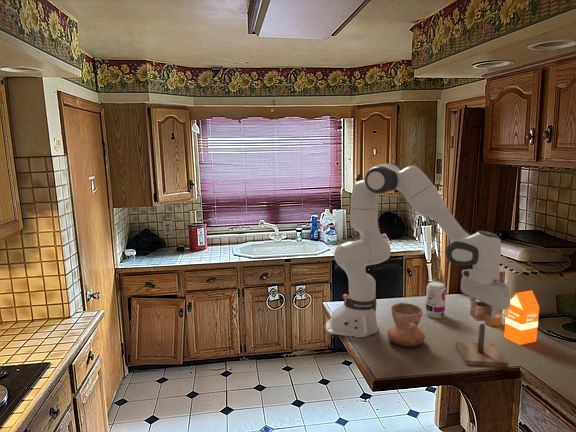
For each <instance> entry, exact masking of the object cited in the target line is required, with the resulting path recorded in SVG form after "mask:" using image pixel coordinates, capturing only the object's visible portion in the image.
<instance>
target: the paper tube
mask: <svg viewBox="0 0 576 432" xmlns="http://www.w3.org/2000/svg"><path fill="white" fill-rule="evenodd" d="M499 267H500V273H499V281H500V282H503V283H505V282H506V268H505V267H501V266H499ZM505 284H506V283H505ZM503 311H504V310H500V309H499V310H498V311H497V312H496V317H494V320H493V321H483V322H484V323H485V324H486V325H487V326H491V327H499V326H501V325H502V322H503V321H502V320H503V319H502V318H503Z"/></svg>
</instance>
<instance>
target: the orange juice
mask: <svg viewBox="0 0 576 432" xmlns="http://www.w3.org/2000/svg"><path fill="white" fill-rule="evenodd" d="M505 312H506V313H505V319H504V321H505V322H504V333H503V334H504V336H503V337H504V338H505V339H507V340H509V341H511V342H512V343H515V344H517V345H520V346H521V345H526V344H529V343H535V342H536V341H537V337H538V336H537V335H538V327H539V314H540V305H539V303H538V300H537V298H536V296H535V294H534V292H533V289H532V290H526V291H520V292H515V294H514V295H513V296H512V297H510V307H509V308H508V309H505Z"/></svg>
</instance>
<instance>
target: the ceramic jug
mask: <svg viewBox="0 0 576 432" xmlns="http://www.w3.org/2000/svg"><path fill="white" fill-rule="evenodd" d="M390 310H391V316H392V319H393V322H394V324H393V325H392V326H390V327H389V328H388V329H387V333H386V334H387V338H388V339H389V341H391V342H392V343H394V344H395V345H398V346H399V347H404V348H405V347H409V348H411V347H417V346H420V345H421V344H423V343H424V341H425V339H426V335H425V332H424V331H423V330H422V329H421V328H419V327H418V326H419V324H420V322H421V319H422V317H423V314H424V309H423V308H422V307H420V306H418V305H415V304H413V303H408V302H400V303H395V304H393V305H392V306H391V308H390Z"/></svg>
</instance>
